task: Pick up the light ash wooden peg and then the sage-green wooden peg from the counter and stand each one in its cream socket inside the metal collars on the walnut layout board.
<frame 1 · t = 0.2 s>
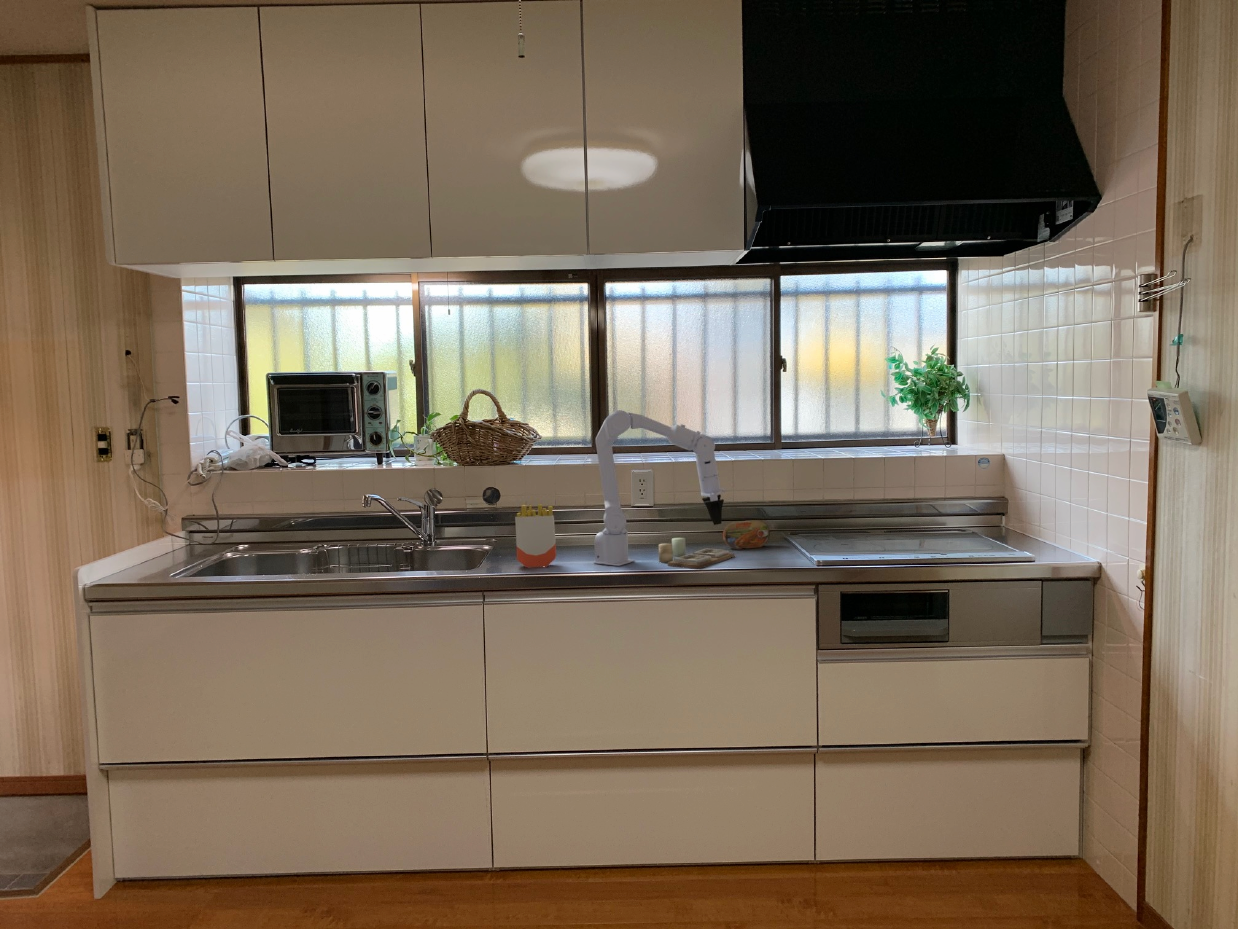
hand: (716, 522, 241), 11 cm above the counter, tool pointing down, fingers open, 7 cm apart
sage peg: (678, 555, 249), on the counter
layout board: (701, 561, 239), on the counter
ash peg: (666, 561, 240), on the counter
tin: (746, 548, 258), on the counter
french fries container: (537, 567, 240), on the counter
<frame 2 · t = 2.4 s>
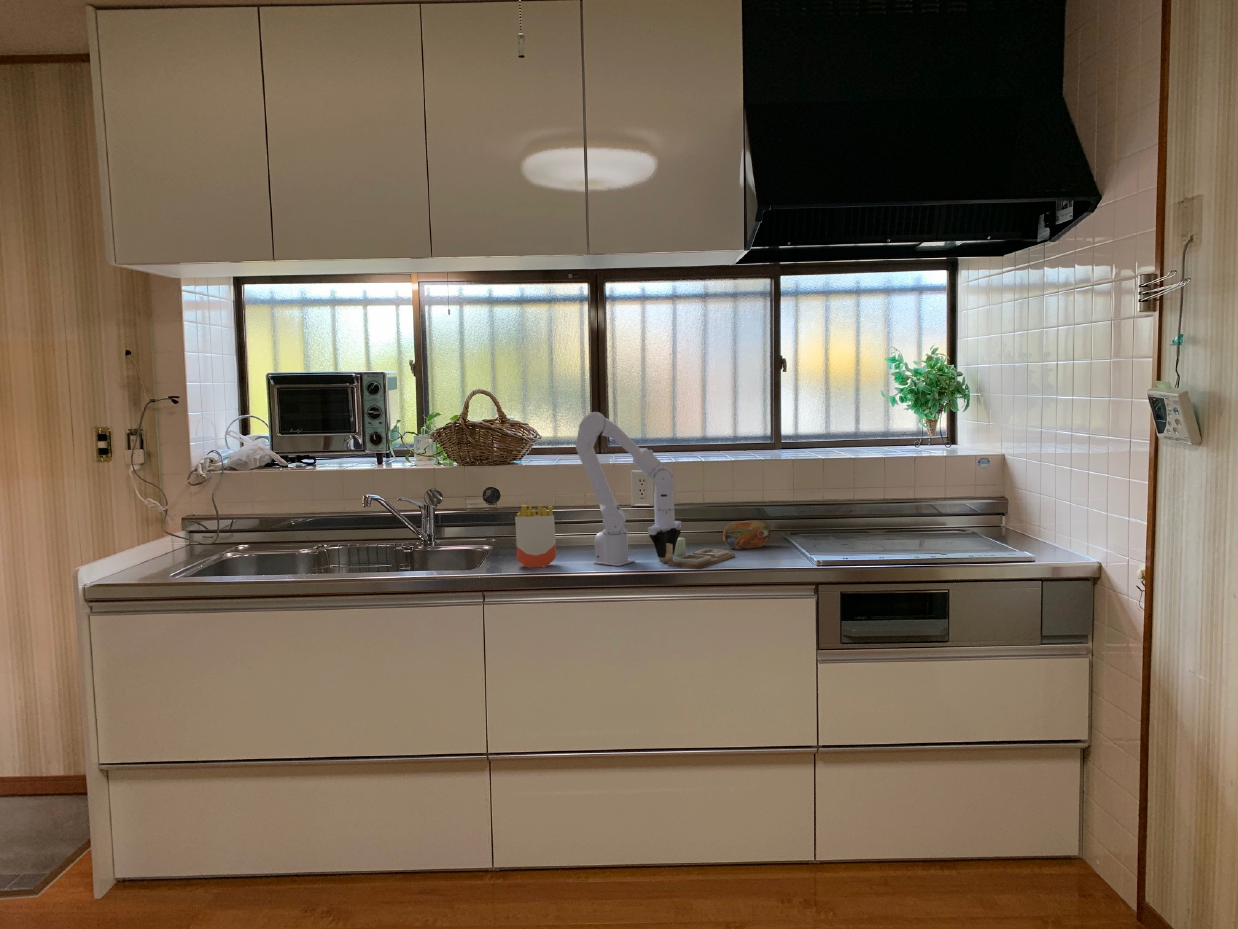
hand: (665, 556, 240), 2 cm above the counter, tool pointing down, fingers closed on ash peg, 4 cm apart
ash peg: (666, 561, 240), on the counter, touching gripper
everything else where it was.
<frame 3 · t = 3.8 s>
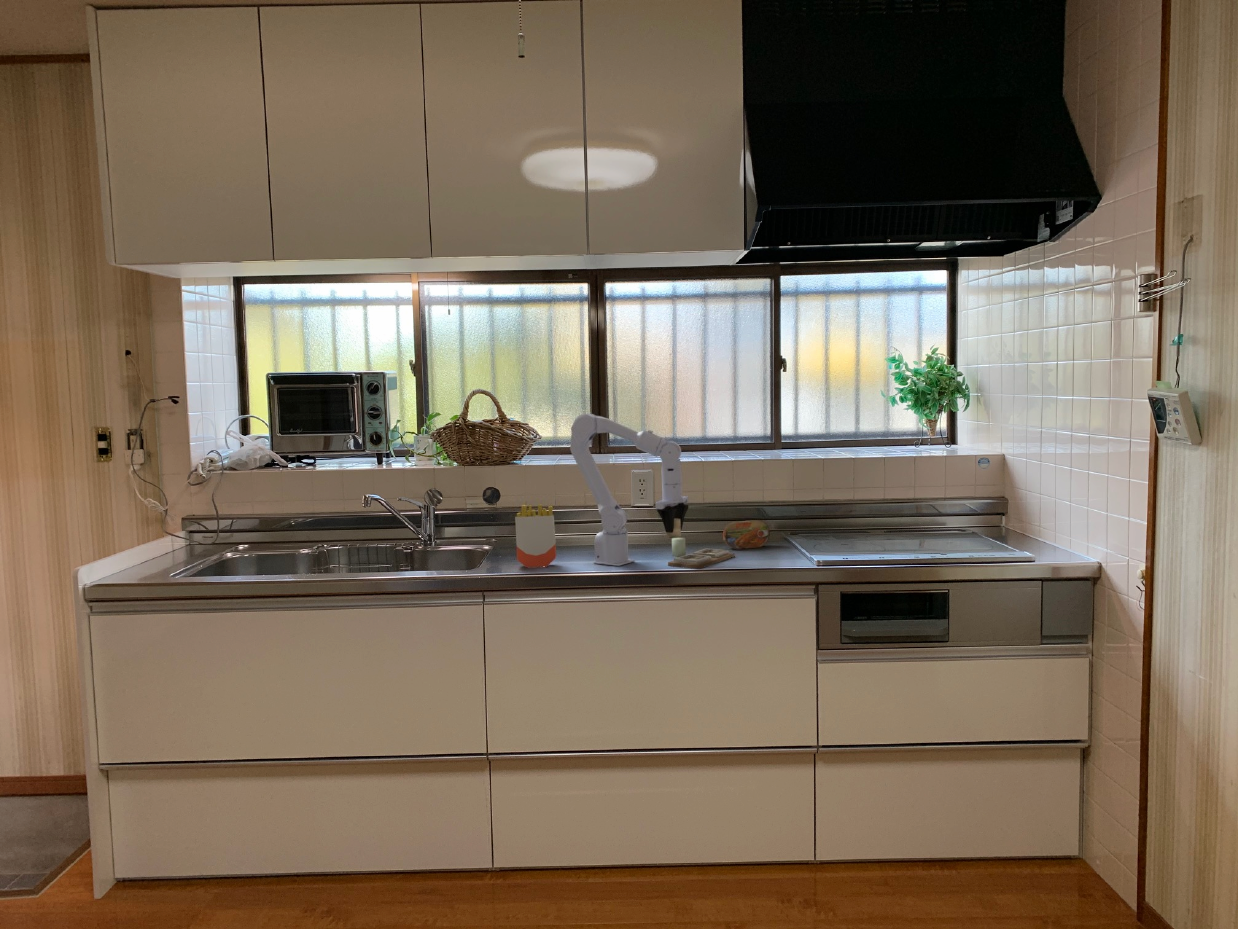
hand: (673, 531, 238), 9 cm above the counter, tool pointing down, fingers closed on ash peg, 4 cm apart
ash peg: (674, 536, 238), point 7 cm above the counter, touching gripper
everything else where it was.
when the fingers open (4 cm above the counter, at t = 5.6 s): ash peg stays where it is, resting on layout board.
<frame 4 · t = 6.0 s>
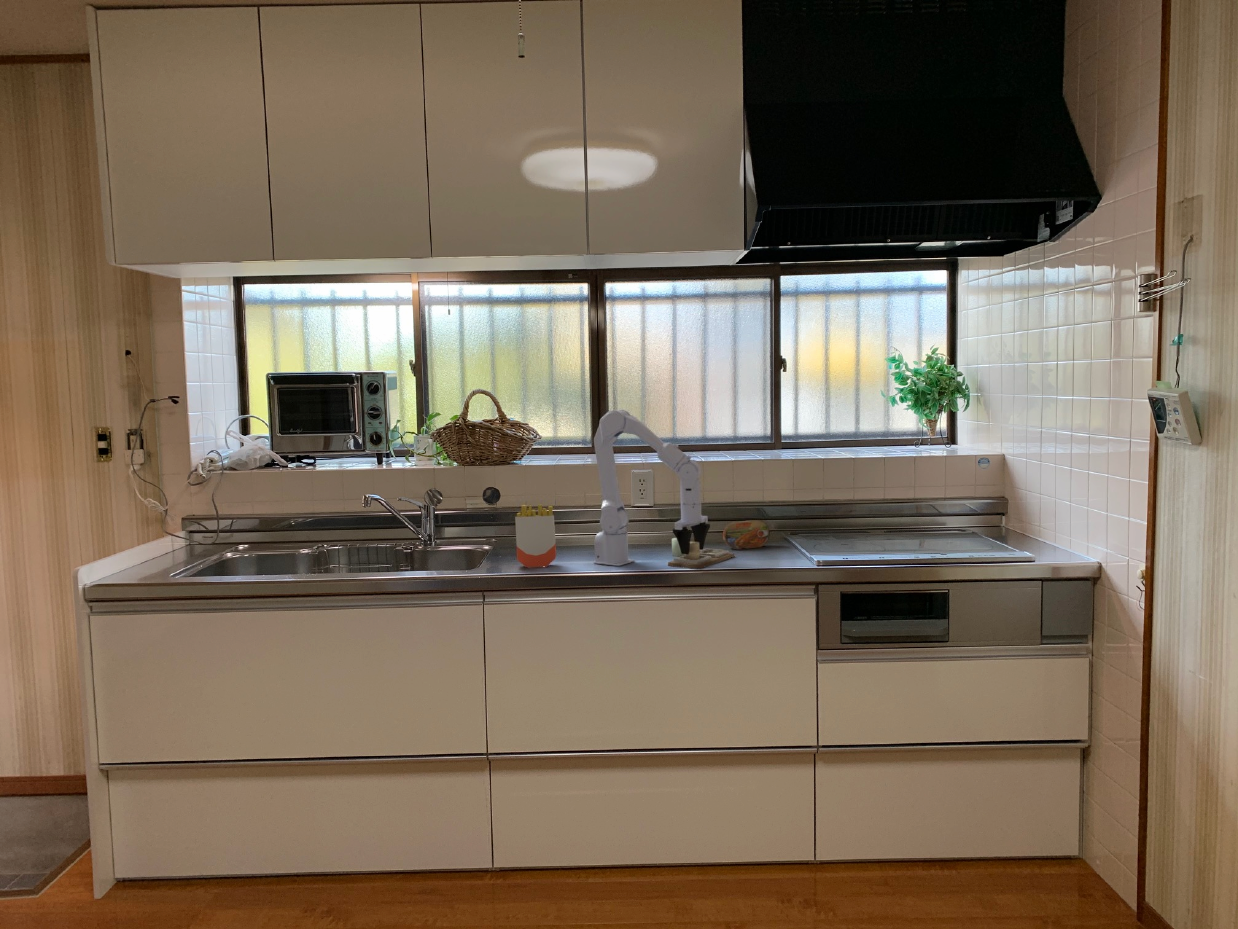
hand: (692, 551, 234), 4 cm above the counter, tool pointing down, fingers open, 7 cm apart
ash peg: (692, 560, 235), point 1 cm above the counter, touching layout board
everything else where it was.
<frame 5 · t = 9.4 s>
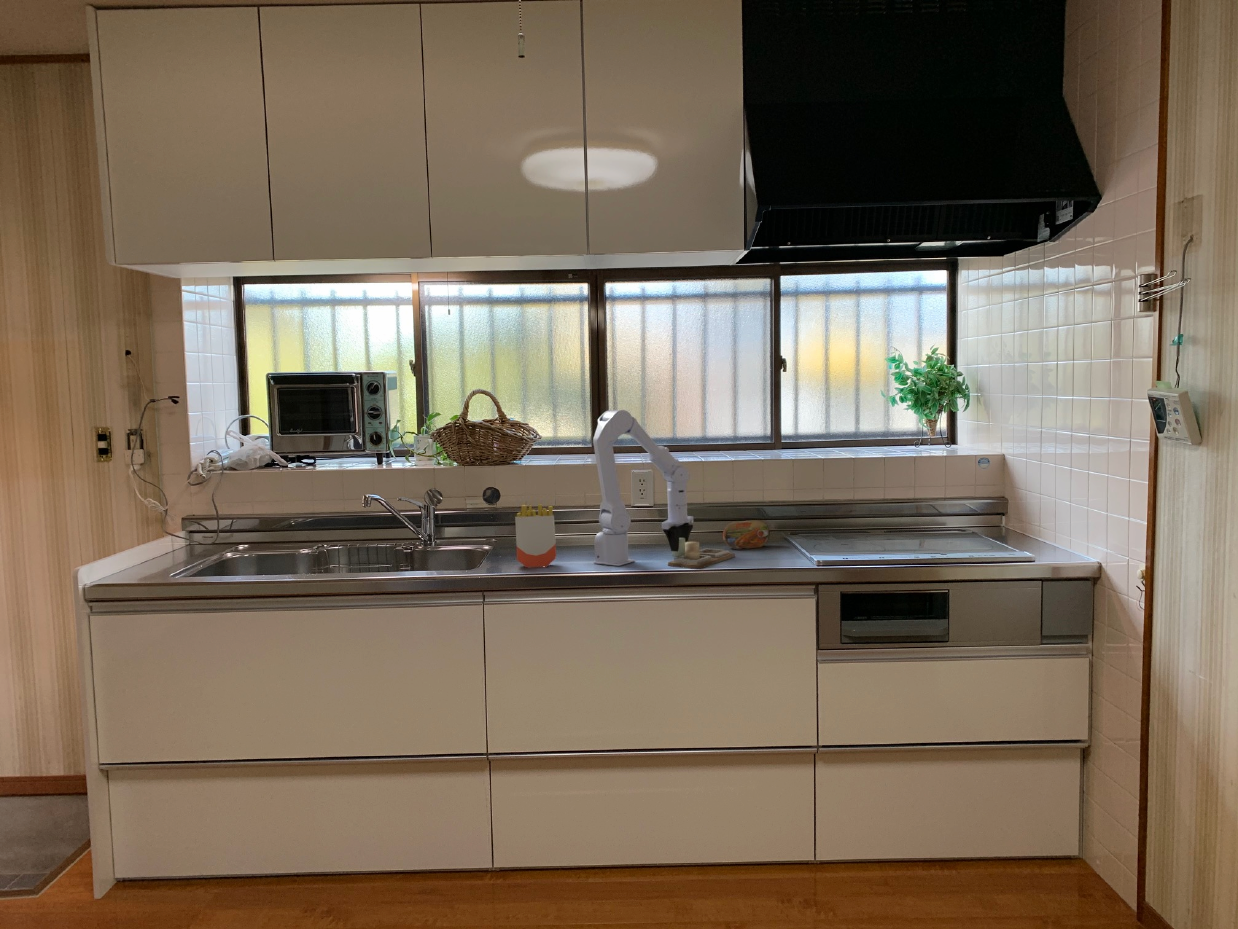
hand: (678, 549, 249), 2 cm above the counter, tool pointing down, fingers closed on sage peg, 4 cm apart
sage peg: (679, 555, 249), on the counter, touching gripper
everything else where it was.
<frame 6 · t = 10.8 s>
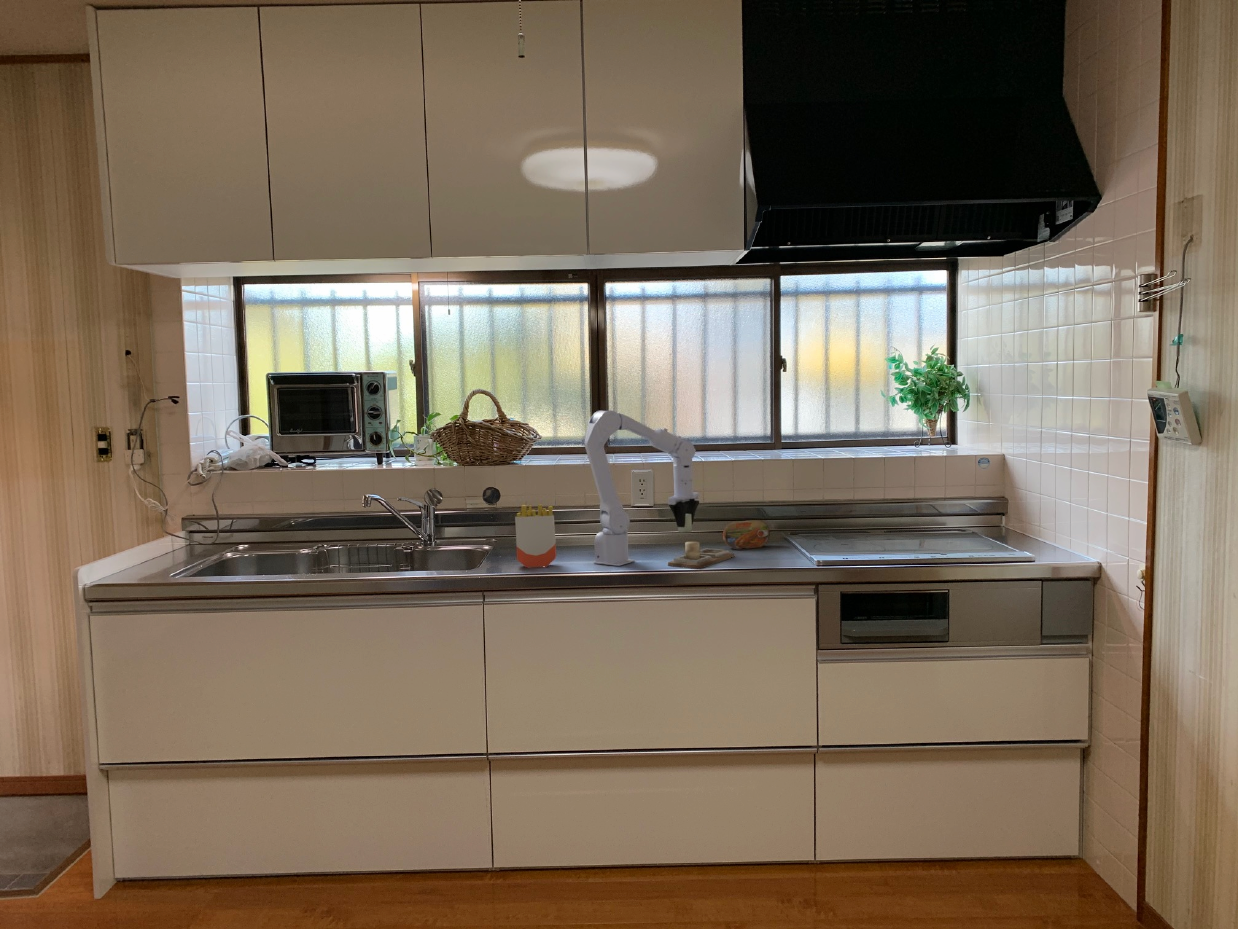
hand: (685, 525, 247), 9 cm above the counter, tool pointing down, fingers closed on sage peg, 4 cm apart
sage peg: (685, 531, 247), point 7 cm above the counter, touching gripper
everything else where it was.
when the fingers open (4 cm above the counter, at t = 12.7 s): sage peg stays where it is, resting on layout board.
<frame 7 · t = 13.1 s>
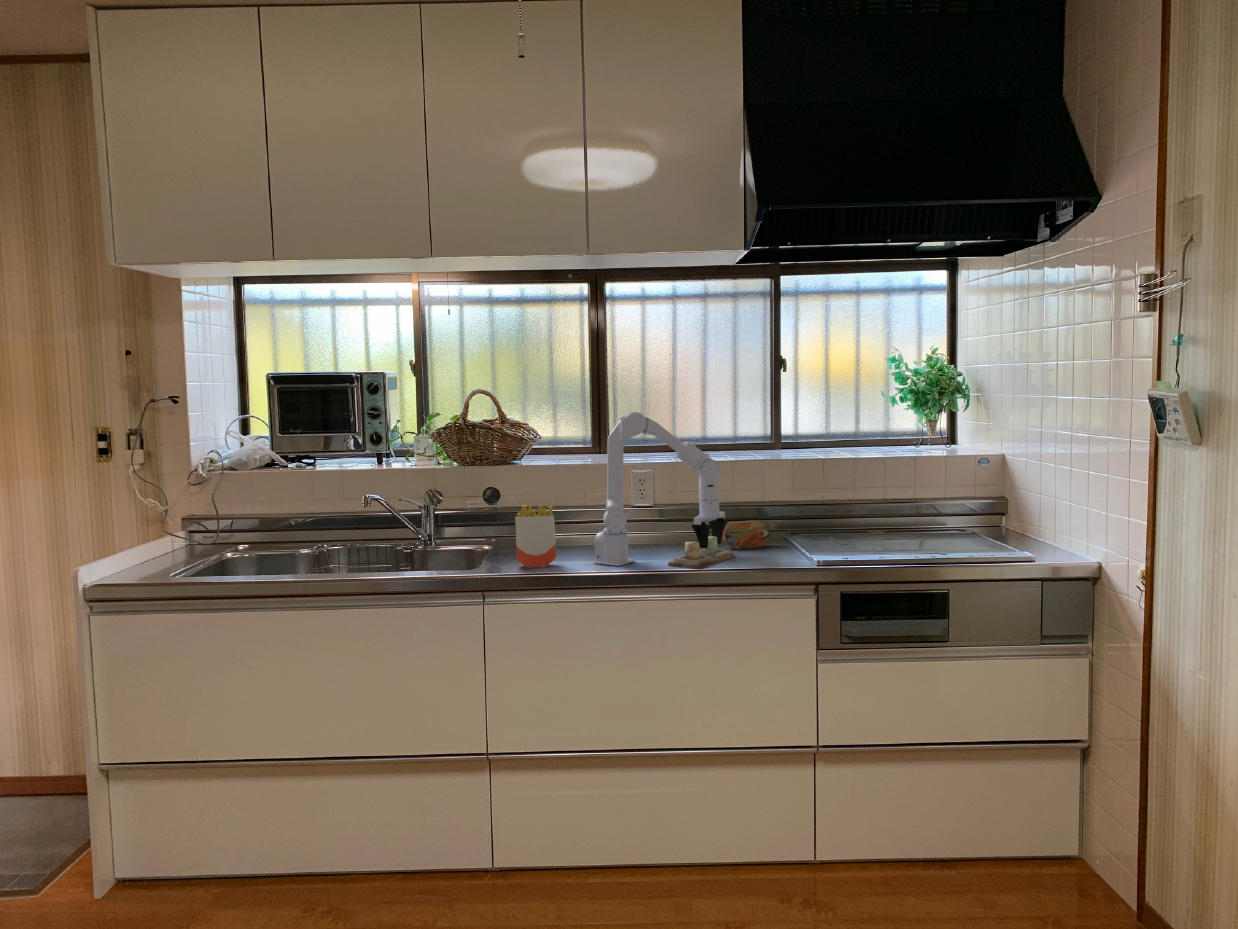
hand: (710, 545, 242), 4 cm above the counter, tool pointing down, fingers open, 7 cm apart
sage peg: (710, 554, 243), point 1 cm above the counter, touching layout board
everything else where it was.
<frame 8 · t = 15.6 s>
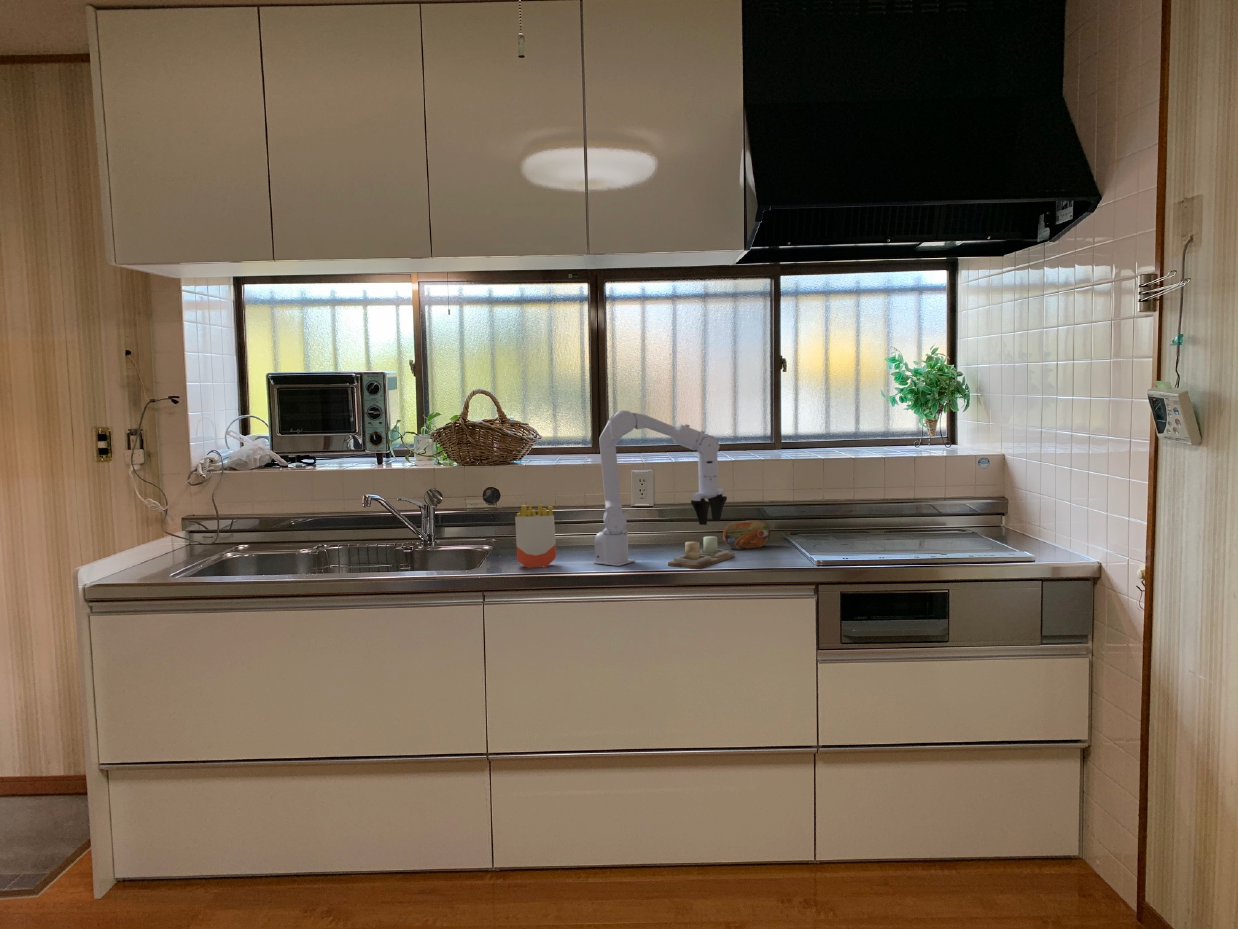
hand: (709, 522, 242), 10 cm above the counter, tool pointing down, fingers open, 7 cm apart
nothing on the counter moved.
at the end: ash peg 0.0 cm from the target spot on the layout board, point 1.1 cm above the layout board's base; sage peg 0.0 cm from the target spot on the layout board, point 1.1 cm above the layout board's base; sage peg tilted 0° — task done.
